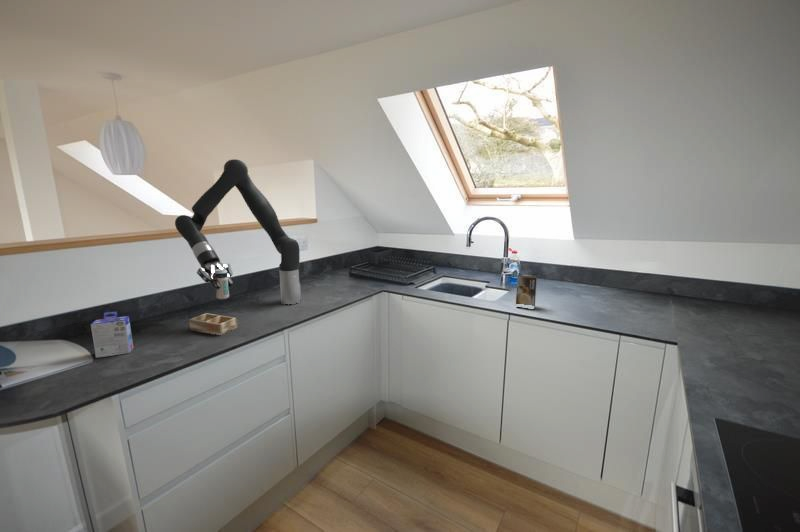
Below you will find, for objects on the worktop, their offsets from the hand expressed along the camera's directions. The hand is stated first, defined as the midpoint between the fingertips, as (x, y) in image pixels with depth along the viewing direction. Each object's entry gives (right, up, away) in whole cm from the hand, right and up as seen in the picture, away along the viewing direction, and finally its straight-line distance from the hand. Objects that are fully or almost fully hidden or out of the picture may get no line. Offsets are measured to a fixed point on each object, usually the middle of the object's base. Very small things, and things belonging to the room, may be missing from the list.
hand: (224, 286), depth 150 cm
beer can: (-2, -5, +2) cm, 6 cm away
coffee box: (+134, -12, +33) cm, 139 cm away
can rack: (-5, -17, +1) cm, 18 cm away
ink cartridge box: (-28, -22, -22) cm, 42 cm away
